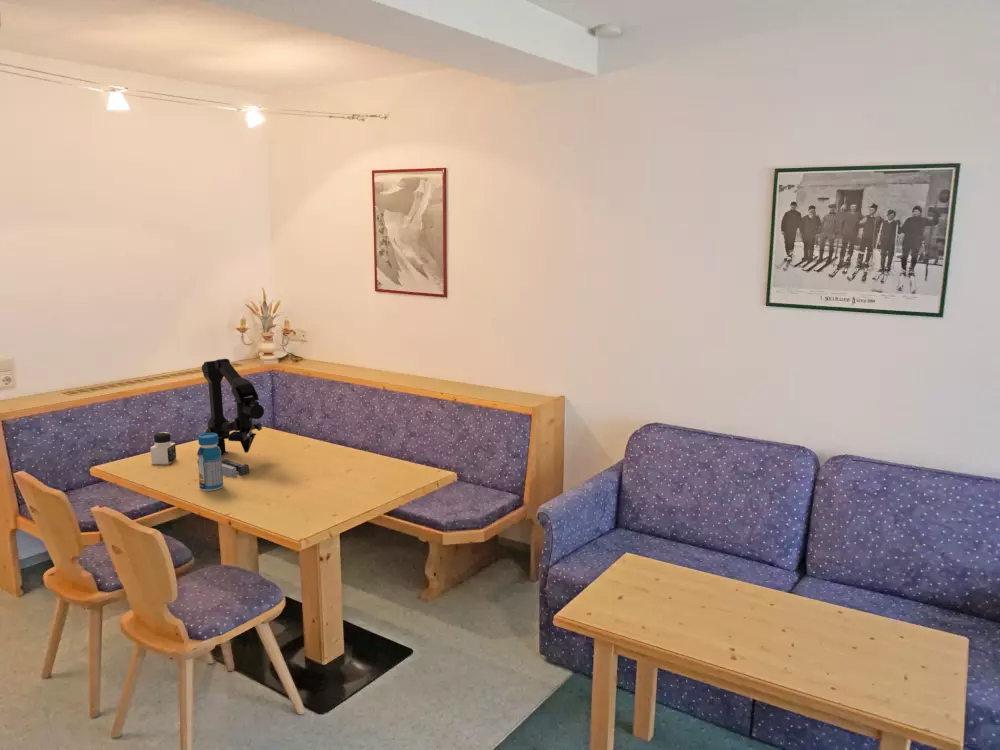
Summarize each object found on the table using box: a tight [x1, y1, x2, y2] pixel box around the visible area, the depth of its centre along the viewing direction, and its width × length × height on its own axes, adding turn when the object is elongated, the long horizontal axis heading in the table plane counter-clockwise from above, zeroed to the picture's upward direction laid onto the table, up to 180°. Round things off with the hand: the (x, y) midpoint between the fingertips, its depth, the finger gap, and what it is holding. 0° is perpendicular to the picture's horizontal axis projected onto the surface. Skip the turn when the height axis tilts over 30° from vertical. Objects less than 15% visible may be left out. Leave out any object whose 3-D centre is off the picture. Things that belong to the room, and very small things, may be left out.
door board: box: [222, 464, 238, 478], centre depth 299 cm, size 20×2×4 cm, turn 54°
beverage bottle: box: [196, 432, 224, 492], centre depth 279 cm, size 8×8×20 cm
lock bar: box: [222, 456, 243, 473], centre depth 302 cm, size 14×4×3 cm, turn 50°
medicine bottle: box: [150, 431, 177, 465], centre depth 311 cm, size 7×7×12 cm
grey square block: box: [237, 463, 250, 476], centre depth 297 cm, size 2×4×4 cm, turn 144°
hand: (246, 452), depth 305 cm, fingers closed
